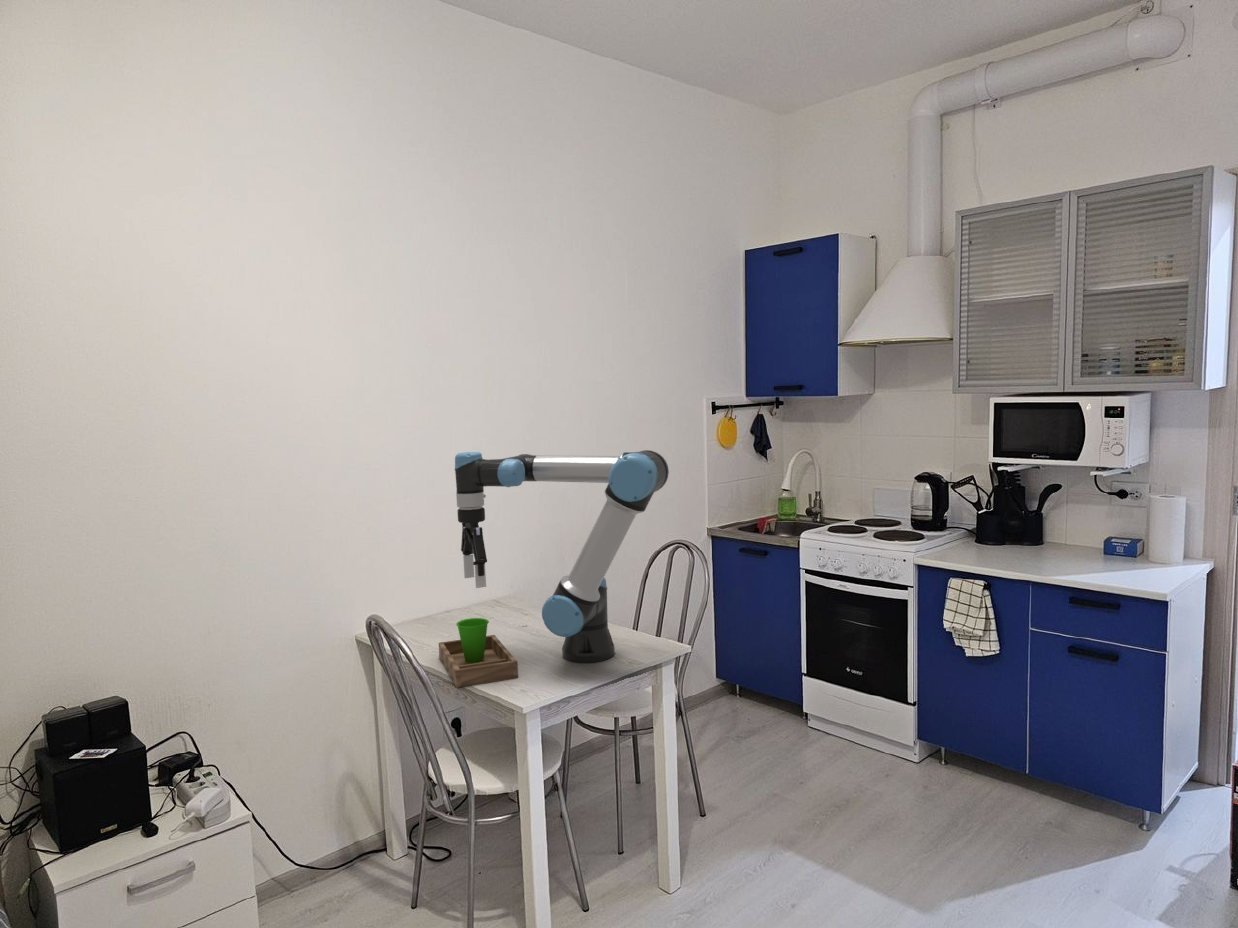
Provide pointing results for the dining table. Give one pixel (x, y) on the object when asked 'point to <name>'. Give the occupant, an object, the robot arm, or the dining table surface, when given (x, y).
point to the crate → (491, 669)
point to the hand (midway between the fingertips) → (475, 582)
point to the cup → (473, 638)
